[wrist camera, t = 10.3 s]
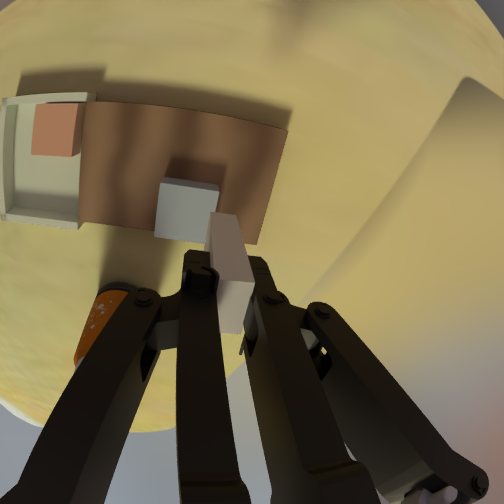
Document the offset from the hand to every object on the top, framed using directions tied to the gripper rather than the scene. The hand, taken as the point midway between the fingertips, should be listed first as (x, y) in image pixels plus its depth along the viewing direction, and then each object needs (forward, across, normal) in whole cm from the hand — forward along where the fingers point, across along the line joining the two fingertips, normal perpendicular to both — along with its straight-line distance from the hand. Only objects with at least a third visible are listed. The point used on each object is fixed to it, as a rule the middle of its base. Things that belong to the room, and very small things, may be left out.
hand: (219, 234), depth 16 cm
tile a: (+17, -19, +4) cm, 26 cm away
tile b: (+15, -2, -4) cm, 15 cm away
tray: (+17, -22, 0) cm, 28 cm away
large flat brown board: (+17, -4, 0) cm, 18 cm away
